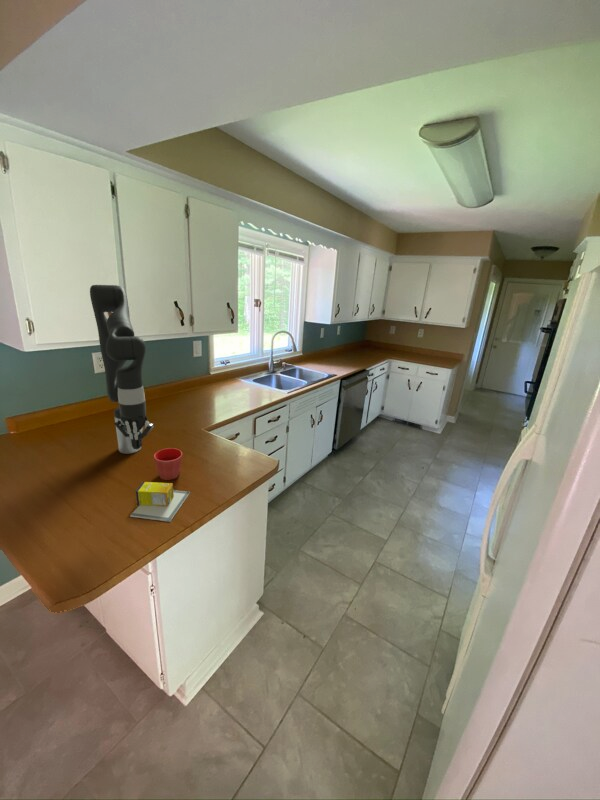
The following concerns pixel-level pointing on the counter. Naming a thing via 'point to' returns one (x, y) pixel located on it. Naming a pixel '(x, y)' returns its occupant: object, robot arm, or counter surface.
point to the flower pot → (168, 463)
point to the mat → (162, 508)
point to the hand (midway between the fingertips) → (137, 448)
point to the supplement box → (154, 494)
